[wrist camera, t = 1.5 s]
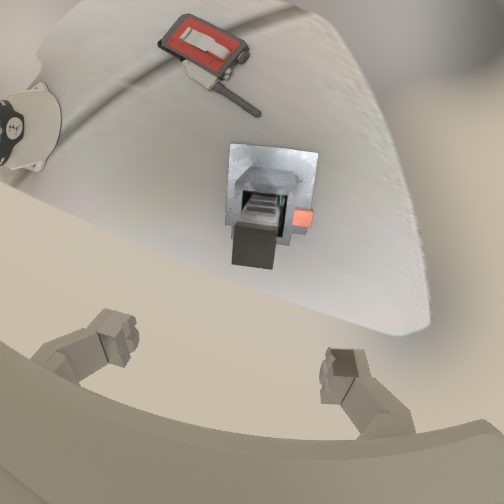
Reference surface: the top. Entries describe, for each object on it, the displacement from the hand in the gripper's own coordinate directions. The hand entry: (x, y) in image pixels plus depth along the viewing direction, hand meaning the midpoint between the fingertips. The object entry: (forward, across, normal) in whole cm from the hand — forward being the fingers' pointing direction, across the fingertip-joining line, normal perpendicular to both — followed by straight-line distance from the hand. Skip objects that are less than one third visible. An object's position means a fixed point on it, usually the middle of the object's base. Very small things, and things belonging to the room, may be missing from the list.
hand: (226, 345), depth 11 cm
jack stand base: (+31, 0, 0) cm, 31 cm away
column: (+30, 0, 0) cm, 30 cm away
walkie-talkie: (+32, +9, -18) cm, 38 cm away
